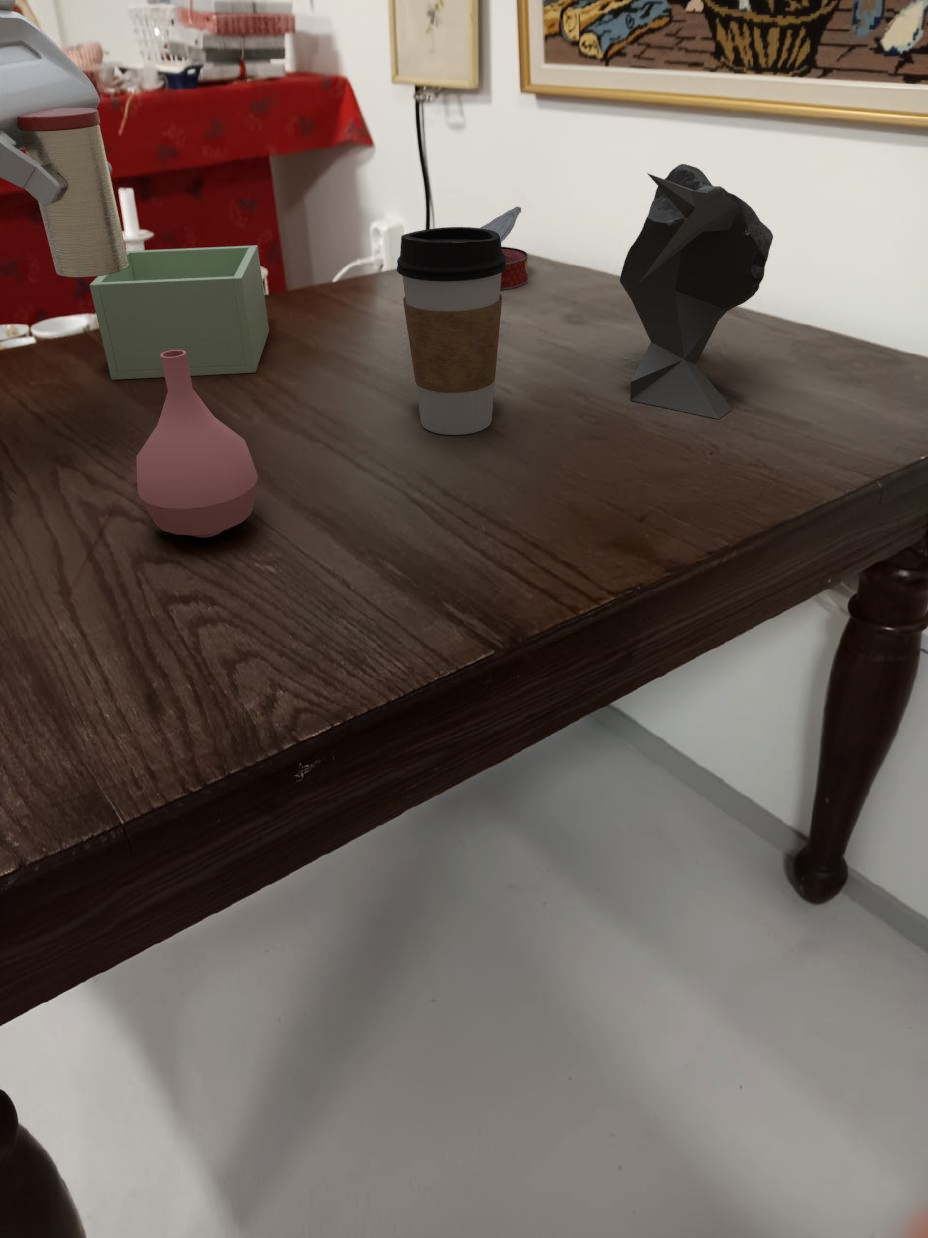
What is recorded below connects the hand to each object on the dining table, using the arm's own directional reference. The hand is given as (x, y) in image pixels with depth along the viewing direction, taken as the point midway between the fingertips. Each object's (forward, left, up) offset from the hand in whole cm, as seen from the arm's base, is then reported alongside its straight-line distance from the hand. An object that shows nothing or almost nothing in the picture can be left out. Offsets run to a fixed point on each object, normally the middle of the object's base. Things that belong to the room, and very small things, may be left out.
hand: (82, 187), depth 66 cm
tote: (0, +25, -19) cm, 31 cm away
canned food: (+32, +49, -20) cm, 62 cm away
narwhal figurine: (+46, +11, -20) cm, 51 cm away
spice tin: (-1, 0, -5) cm, 5 cm away
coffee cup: (+25, +3, -20) cm, 32 cm away
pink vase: (+7, -14, -20) cm, 25 cm away
